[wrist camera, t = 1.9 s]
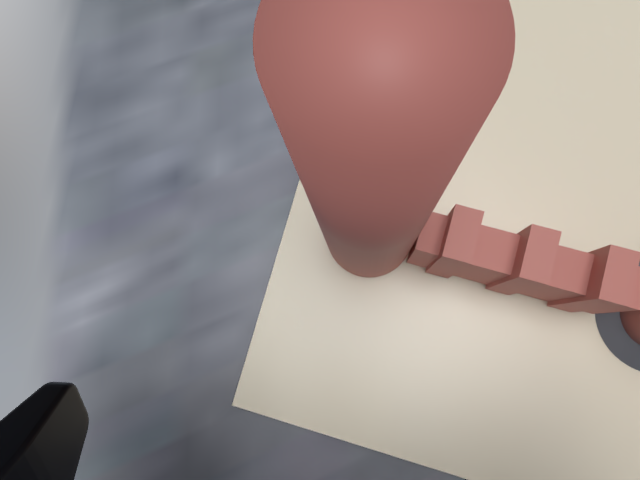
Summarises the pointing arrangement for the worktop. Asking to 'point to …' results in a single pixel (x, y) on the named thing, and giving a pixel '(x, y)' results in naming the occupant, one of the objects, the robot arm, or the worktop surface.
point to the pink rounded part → (413, 143)
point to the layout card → (483, 287)
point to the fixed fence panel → (631, 324)
